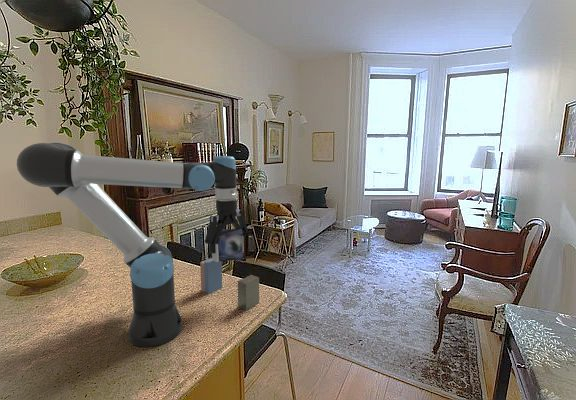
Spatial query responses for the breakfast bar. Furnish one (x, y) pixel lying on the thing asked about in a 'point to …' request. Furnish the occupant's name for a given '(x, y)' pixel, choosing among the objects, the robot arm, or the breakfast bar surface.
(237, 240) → the small box
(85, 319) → the breakfast bar surface
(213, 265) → the standing books
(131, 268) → the robot arm
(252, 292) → the bookend
